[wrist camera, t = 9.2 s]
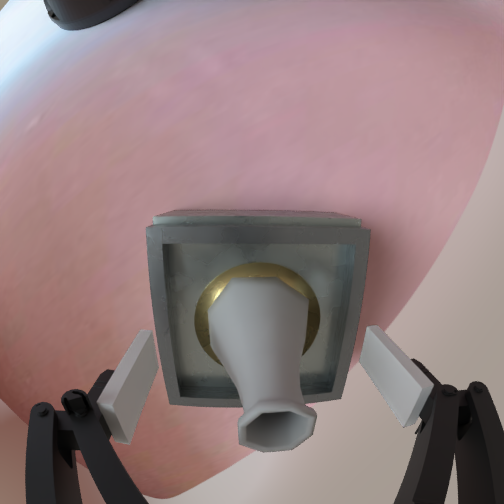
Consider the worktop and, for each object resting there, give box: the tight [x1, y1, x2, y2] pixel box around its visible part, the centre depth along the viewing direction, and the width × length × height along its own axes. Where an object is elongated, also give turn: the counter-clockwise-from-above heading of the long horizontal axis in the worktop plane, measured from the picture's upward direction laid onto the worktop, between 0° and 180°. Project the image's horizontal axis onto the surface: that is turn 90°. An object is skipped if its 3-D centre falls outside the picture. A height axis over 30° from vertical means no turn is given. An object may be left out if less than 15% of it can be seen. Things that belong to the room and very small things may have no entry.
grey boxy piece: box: [146, 210, 371, 407], centre depth 21 cm, size 15×14×8 cm
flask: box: [208, 277, 317, 452], centre depth 14 cm, size 7×7×10 cm
